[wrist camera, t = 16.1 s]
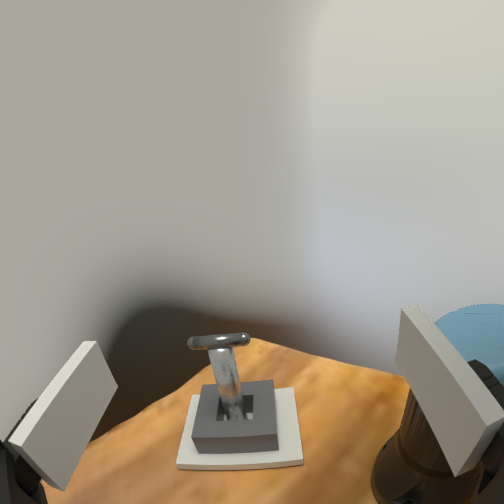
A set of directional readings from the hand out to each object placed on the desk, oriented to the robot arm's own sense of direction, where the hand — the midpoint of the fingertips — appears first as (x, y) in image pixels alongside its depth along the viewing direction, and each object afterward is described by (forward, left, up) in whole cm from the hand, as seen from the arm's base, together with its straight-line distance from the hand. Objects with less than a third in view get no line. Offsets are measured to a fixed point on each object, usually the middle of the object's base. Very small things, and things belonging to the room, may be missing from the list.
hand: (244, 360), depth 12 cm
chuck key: (+6, -20, -28) cm, 35 cm away
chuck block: (+6, -20, -29) cm, 36 cm away
